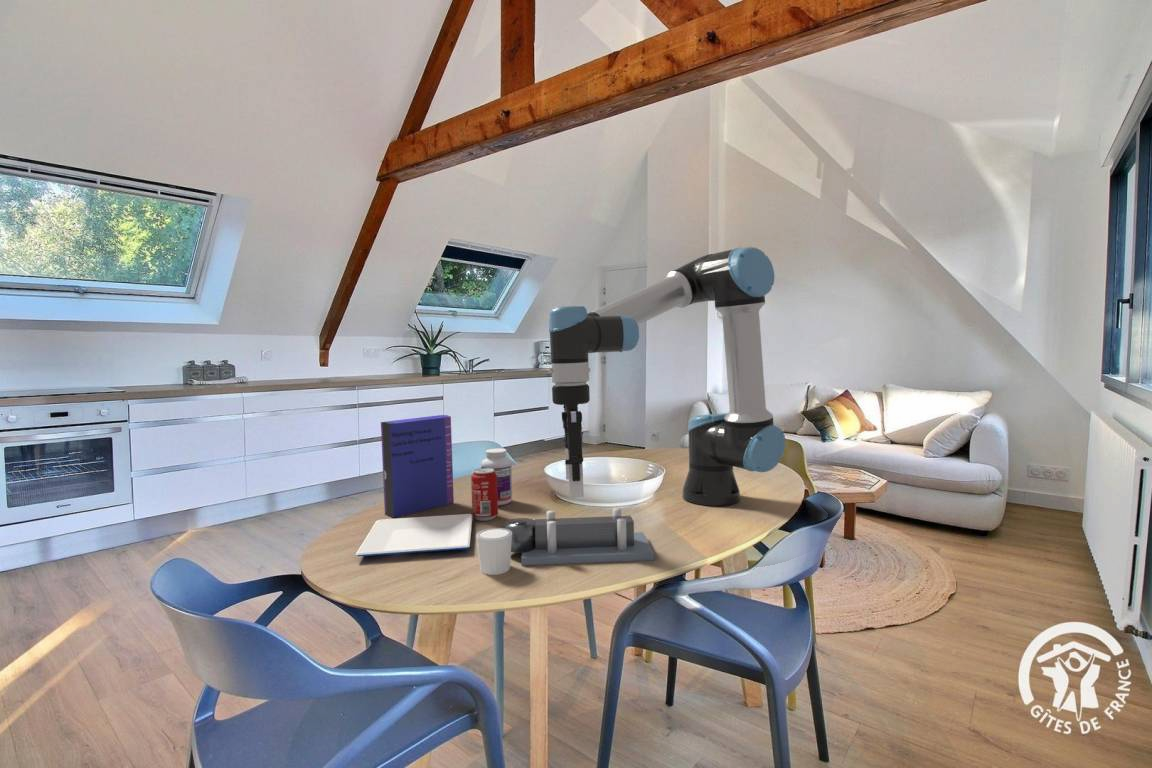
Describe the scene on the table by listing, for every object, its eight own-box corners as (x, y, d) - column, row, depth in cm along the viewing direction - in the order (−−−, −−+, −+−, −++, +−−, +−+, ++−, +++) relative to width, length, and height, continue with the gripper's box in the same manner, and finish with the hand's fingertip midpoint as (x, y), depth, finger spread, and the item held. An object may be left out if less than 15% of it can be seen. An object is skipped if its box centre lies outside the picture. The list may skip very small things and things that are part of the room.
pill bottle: (487, 498, 156) (485, 447, 155) (515, 498, 155) (514, 447, 154) (478, 506, 148) (476, 453, 147) (508, 507, 147) (506, 453, 146)
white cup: (507, 577, 103) (506, 540, 103) (471, 575, 104) (470, 538, 104) (517, 562, 110) (516, 528, 109) (484, 561, 111) (483, 526, 111)
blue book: (444, 500, 155) (441, 414, 154) (453, 503, 152) (450, 415, 150) (384, 514, 143) (380, 421, 141) (393, 518, 140) (389, 423, 138)
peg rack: (643, 538, 122) (642, 505, 122) (654, 560, 110) (653, 522, 110) (523, 543, 120) (522, 509, 120) (521, 565, 109) (520, 527, 108)
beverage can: (500, 514, 142) (499, 467, 141) (494, 522, 135) (493, 473, 134) (476, 513, 142) (474, 467, 141) (469, 521, 136) (467, 473, 135)
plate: (355, 564, 111) (354, 553, 111) (377, 527, 133) (376, 519, 133) (469, 555, 115) (469, 545, 115) (472, 521, 137) (472, 513, 137)
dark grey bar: (630, 537, 119) (629, 513, 119) (635, 548, 113) (634, 523, 112) (506, 541, 117) (505, 518, 117) (504, 553, 111) (503, 528, 111)
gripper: (550, 379, 125) (554, 473, 127) (553, 390, 100) (557, 506, 102) (584, 378, 125) (587, 471, 127) (595, 388, 100) (599, 504, 102)
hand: (574, 487), depth 114 cm, fingers open, 13 cm apart
